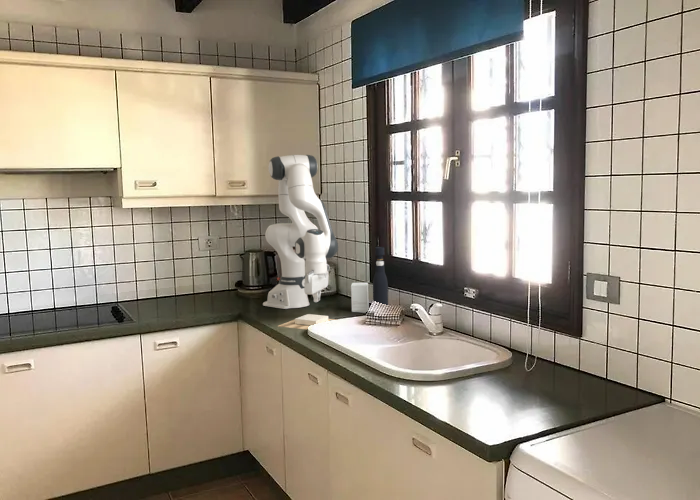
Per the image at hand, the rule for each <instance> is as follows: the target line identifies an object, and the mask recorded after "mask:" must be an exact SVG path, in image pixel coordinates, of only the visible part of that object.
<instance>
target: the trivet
mask: <svg viewBox="0 0 700 500" xmlns="http://www.w3.org/2000/svg"><path fill="white" fill-rule="evenodd" d="M330 320H337V319H335V318H334V319H333V318H328V321H330ZM278 327H281V328H290V329H298V330H299V329H300V330H307V329H308V327H309V325H300V324H295V319H292V320H289V321H288V322H287V321H286V322H285V323H282V324H279V325H278Z"/></svg>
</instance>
